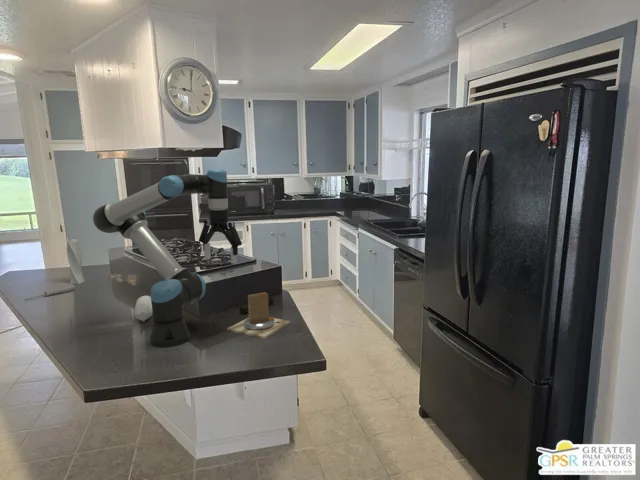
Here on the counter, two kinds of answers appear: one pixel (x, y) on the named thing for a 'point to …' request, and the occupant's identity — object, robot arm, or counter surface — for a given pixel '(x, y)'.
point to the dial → (258, 312)
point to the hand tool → (245, 308)
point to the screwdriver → (57, 291)
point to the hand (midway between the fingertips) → (220, 261)
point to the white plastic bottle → (143, 308)
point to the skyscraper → (75, 261)
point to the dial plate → (258, 333)
